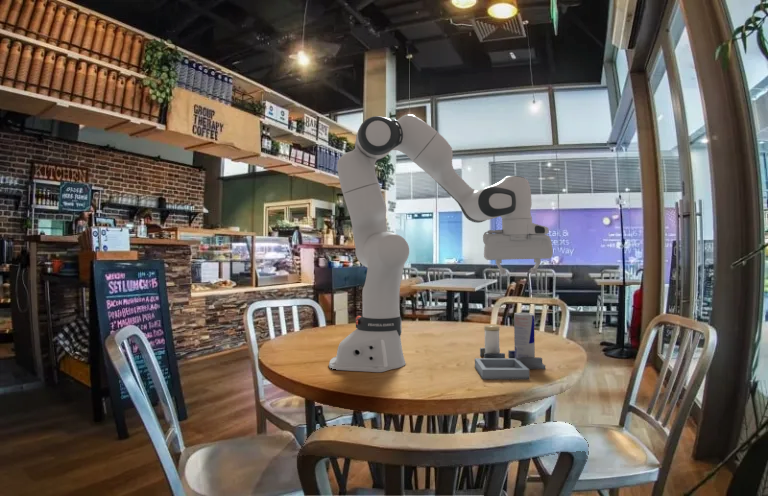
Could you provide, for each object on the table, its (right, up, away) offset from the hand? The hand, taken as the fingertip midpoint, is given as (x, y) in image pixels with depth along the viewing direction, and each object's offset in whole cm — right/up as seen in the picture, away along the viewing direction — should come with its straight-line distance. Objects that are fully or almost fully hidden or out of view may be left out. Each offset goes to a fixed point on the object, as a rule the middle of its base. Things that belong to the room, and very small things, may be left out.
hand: (518, 274), depth 132 cm
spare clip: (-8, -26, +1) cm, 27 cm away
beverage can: (0, -26, -6) cm, 27 cm away
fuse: (-8, -26, +1) cm, 27 cm away
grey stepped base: (0, -26, -6) cm, 27 cm away
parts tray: (-9, -26, -15) cm, 31 cm away
